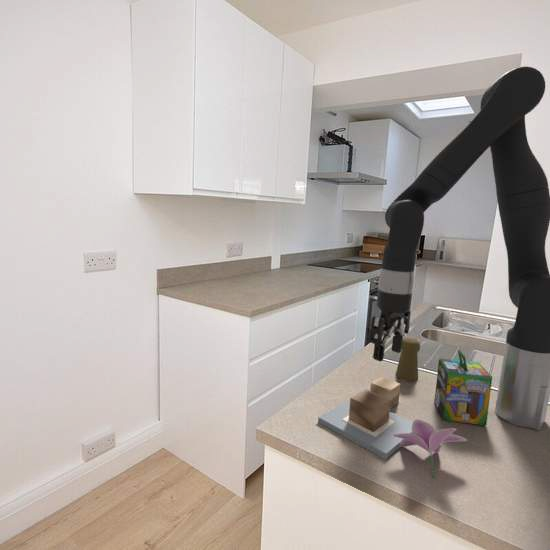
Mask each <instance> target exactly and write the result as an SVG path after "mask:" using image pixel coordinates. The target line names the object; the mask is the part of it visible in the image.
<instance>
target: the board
mask: <svg viewBox="0 0 550 550" xmlns="http://www.w3.org/2000/svg"><path fill="white" fill-rule="evenodd" d="M349 409H350V398H349V399H348V400H346V401H344V402H342V403H340V404H339V405H337V406H336V407H333V408H332V409H330V410H329V411H327V412H325V413H323V414H322V415H320V416H318V419H317V420H318V421H317V422H318V423H319V424H320V425H323V426H325V427H326V428H328V429H329V430H331V431H333V432H335V433H337V434H339V435H341V436H343V437H344V438H346V439H348V440H350V441H351V442H353V443H355V444H356V445H359V446H360V447H362V448H365V450H368V451H370V452H371V453H373V454H375V455H377V456H378V457H380V458H382V459H384V460H387V459H388V458H389V457H391V456H392V454H394V453H395V452H397V450H398V449H400V448H402V447H401V446H400V445H401V443H402V442H403V441H404V440H405V439H402V438H399V437H395V436H393V435H396V434H404V433H412V424H413V422H414V421H411V420H410V419H407V418H404V417H402V416H400V415H398V414H396V413H393V412H391V411H390V412H389V421H388V422H387V423H386V424H384V425H383V426H381V427H380V428H379V429H377V430H376V431H375V432H372V431H370V430H368V429H366V428H364V427H362V426H360V425H358V424H357V423H355V422H353V421H351V420H349ZM412 434H413V433H412Z"/></svg>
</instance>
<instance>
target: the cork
mask: <svg viewBox="0 0 550 550" xmlns="http://www.w3.org/2000/svg"><path fill="white" fill-rule="evenodd" d="M420 349H421V343H420V341H419V340H417V339H416V338H411V337H404V338H403V341H402V349H401V352H400V356H399V360H398V364H397V368H396V371H395V377H396V378H397V379H399V380H401V381H404V380H405V382H410V383H411V382H416V381H418V380H419V366H418V361H419V360H418V357H419V356H418V352H420Z"/></svg>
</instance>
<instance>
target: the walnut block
mask: <svg viewBox="0 0 550 550" xmlns="http://www.w3.org/2000/svg"><path fill="white" fill-rule="evenodd" d="M349 399H350V409H349V420H351V421H353V422H355V423H357V424H358V425H360V426H362V427H364V428H366V429H368V430H370V431H372V432H375V431H376V430H377V429H379V428H380V427H381V426H383V425H384V424H386V423H387V422H388V421H389V412H391V408H390V403H391V399H388V398H386V397H384V396H381V395H379V394H377V393H374V392H372V391H370V390H369V389H368V388H367V389H366V388H365V389H363V390H361V391H360V392H358V393H355V395H352V396H351V397H350V398H349Z"/></svg>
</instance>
